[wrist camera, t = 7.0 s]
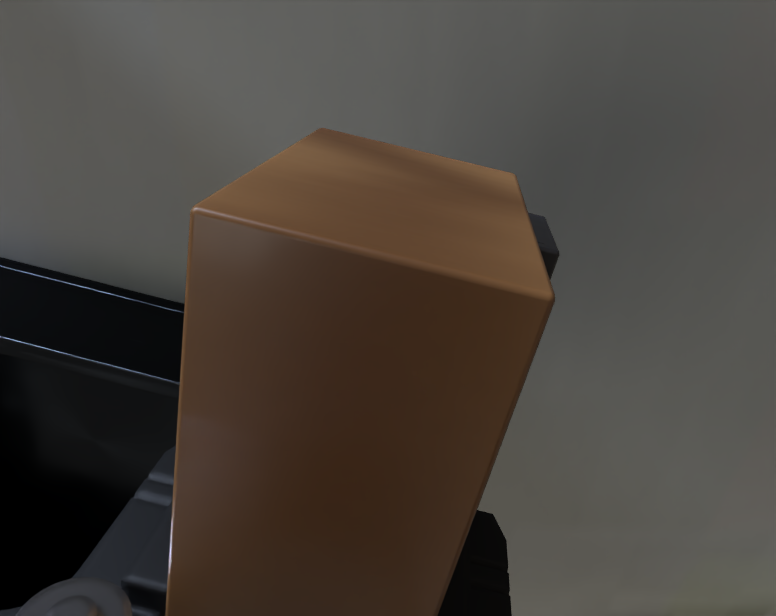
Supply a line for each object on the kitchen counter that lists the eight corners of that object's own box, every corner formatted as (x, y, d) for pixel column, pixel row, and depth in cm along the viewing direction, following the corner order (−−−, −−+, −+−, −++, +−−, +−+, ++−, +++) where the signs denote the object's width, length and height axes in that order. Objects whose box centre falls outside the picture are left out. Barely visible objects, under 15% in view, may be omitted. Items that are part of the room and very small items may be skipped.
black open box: (-21, 513, 35) (-107, 595, 30) (-57, 242, 28) (-181, 289, 22) (228, 580, 35) (185, 676, 30) (262, 323, 27) (211, 391, 22)
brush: (231, 560, 16) (89, 871, 10) (290, 97, 11) (66, 175, 5) (412, 607, 16) (377, 950, 10) (564, 162, 10) (686, 327, 5)
